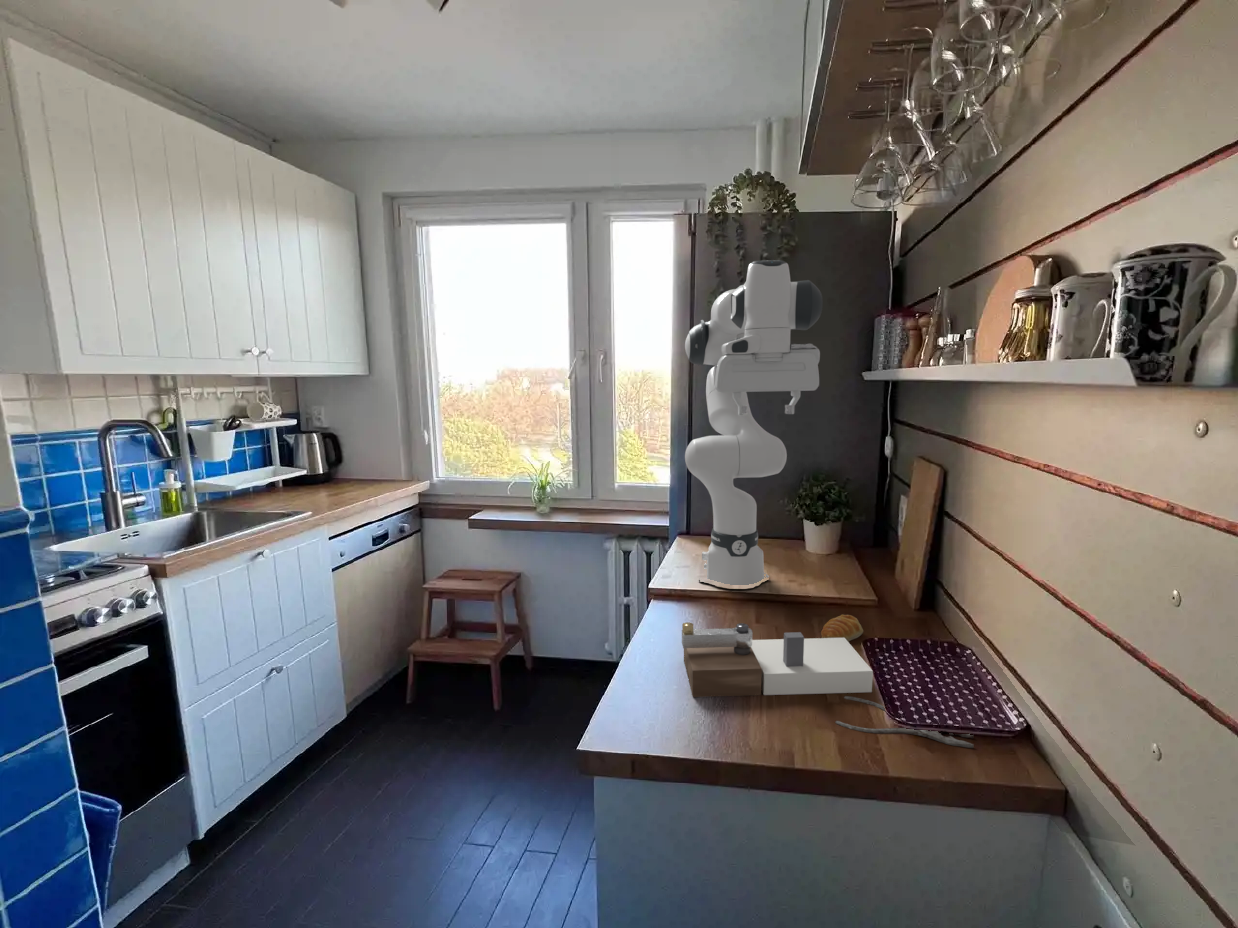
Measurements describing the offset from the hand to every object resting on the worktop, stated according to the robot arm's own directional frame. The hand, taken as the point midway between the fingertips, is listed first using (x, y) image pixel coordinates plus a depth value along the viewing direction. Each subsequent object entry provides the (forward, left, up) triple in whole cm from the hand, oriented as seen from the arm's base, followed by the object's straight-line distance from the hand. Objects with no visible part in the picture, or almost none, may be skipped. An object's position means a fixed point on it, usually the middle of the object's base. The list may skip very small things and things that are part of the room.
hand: (765, 414), depth 122 cm
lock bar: (+17, -13, -41) cm, 46 cm away
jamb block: (+17, -12, -47) cm, 52 cm away
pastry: (+1, +17, -48) cm, 50 cm away
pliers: (+32, +14, -48) cm, 59 cm away
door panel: (+17, +4, -47) cm, 50 cm away
